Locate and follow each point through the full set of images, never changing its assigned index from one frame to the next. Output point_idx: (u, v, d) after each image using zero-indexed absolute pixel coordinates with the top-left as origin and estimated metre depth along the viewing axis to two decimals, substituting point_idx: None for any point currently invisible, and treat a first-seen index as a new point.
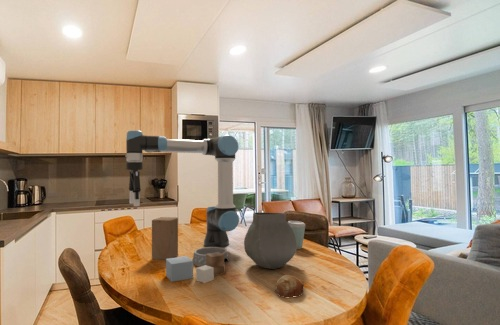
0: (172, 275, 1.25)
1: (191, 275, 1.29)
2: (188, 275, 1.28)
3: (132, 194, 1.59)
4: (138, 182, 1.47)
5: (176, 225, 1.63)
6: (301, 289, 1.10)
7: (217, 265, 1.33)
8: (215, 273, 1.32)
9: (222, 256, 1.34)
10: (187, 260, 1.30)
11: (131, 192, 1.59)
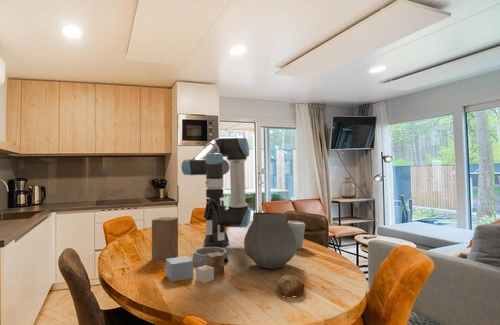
0: (172, 275, 1.25)
1: (191, 275, 1.29)
2: (188, 275, 1.28)
3: (209, 224, 1.41)
4: (224, 213, 1.29)
5: (176, 225, 1.63)
6: (302, 289, 1.10)
7: (217, 265, 1.33)
8: (215, 273, 1.32)
9: (222, 256, 1.34)
10: (187, 260, 1.30)
11: (208, 222, 1.41)
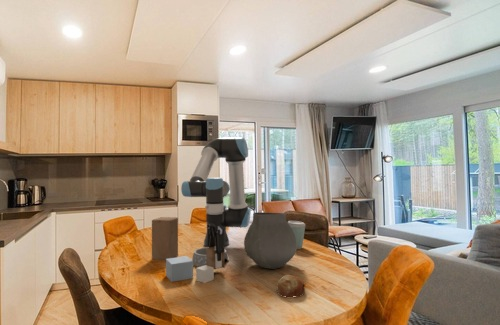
0: (172, 275, 1.25)
1: (191, 275, 1.29)
2: (188, 275, 1.28)
3: None
4: (222, 242, 1.31)
5: (176, 225, 1.63)
6: (302, 289, 1.10)
7: None
8: None
9: None
10: (187, 260, 1.30)
11: None
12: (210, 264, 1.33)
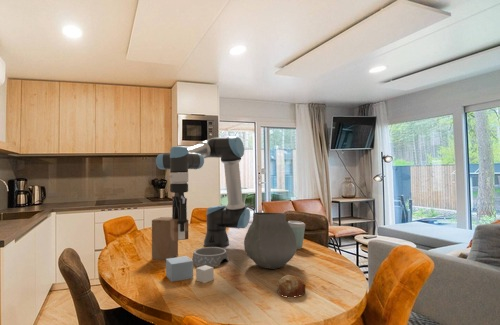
0: (172, 275, 1.25)
1: (191, 275, 1.29)
2: (188, 275, 1.28)
3: None
4: (185, 212, 1.26)
5: None
6: (303, 289, 1.10)
7: None
8: None
9: None
10: (187, 260, 1.30)
11: None
12: (173, 235, 1.28)
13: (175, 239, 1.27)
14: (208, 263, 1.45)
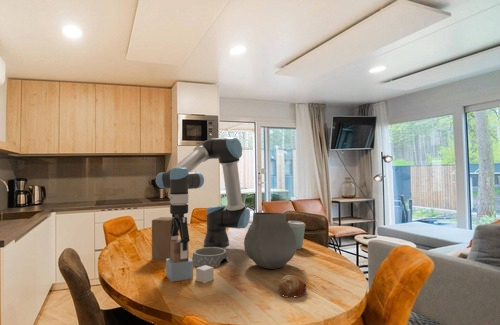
0: (172, 275, 1.25)
1: (191, 275, 1.29)
2: (188, 275, 1.28)
3: None
4: (187, 231, 1.24)
5: None
6: (304, 289, 1.10)
7: None
8: (178, 260, 1.28)
9: None
10: None
11: (174, 238, 1.36)
12: (173, 257, 1.28)
13: (175, 261, 1.27)
14: (208, 263, 1.44)
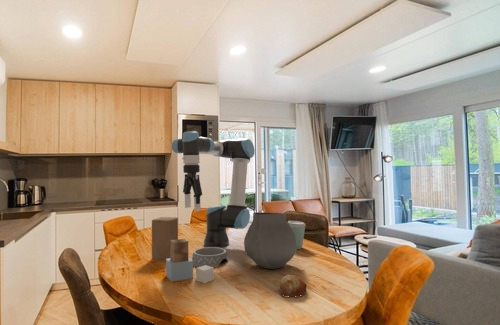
0: (172, 275, 1.25)
1: (191, 275, 1.29)
2: (188, 275, 1.28)
3: (187, 198, 1.52)
4: (199, 186, 1.40)
5: (176, 225, 1.63)
6: (304, 289, 1.10)
7: (181, 252, 1.28)
8: (178, 260, 1.28)
9: (186, 242, 1.30)
10: None
11: (186, 196, 1.52)
12: (173, 257, 1.28)
13: (175, 261, 1.27)
14: (208, 263, 1.44)
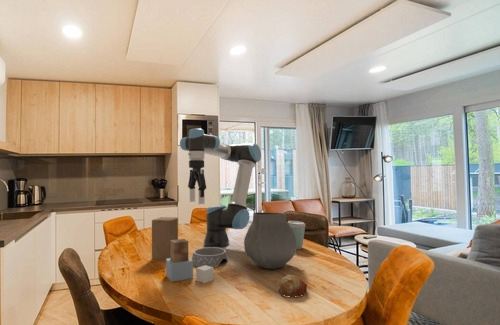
0: (172, 275, 1.25)
1: (191, 275, 1.29)
2: (188, 275, 1.28)
3: (192, 192, 1.60)
4: (204, 180, 1.47)
5: (176, 225, 1.63)
6: (304, 289, 1.10)
7: (181, 252, 1.28)
8: (178, 260, 1.28)
9: (186, 242, 1.30)
10: None
11: (191, 190, 1.60)
12: (173, 257, 1.28)
13: (175, 261, 1.27)
14: (207, 263, 1.44)
